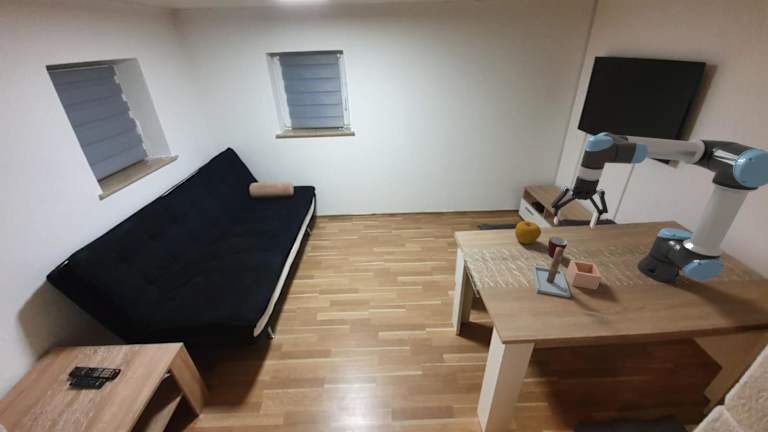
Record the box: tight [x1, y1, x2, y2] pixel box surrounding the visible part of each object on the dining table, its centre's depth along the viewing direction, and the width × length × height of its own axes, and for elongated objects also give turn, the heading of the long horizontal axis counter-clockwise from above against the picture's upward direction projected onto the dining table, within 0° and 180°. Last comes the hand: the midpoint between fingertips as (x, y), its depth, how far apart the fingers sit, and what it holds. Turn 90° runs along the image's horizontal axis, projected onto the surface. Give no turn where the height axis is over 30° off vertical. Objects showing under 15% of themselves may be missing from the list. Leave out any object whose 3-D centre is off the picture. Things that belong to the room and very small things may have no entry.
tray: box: [531, 265, 572, 298], centre depth 139 cm, size 18×13×2 cm
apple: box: [514, 220, 542, 245], centre depth 168 cm, size 13×13×11 cm
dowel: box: [546, 247, 565, 284], centre depth 135 cm, size 3×3×18 cm
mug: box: [547, 236, 568, 259], centre depth 154 cm, size 11×8×10 cm
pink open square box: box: [566, 259, 602, 290], centre depth 138 cm, size 10×10×8 cm
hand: (573, 224), depth 126 cm, fingers open, 13 cm apart
